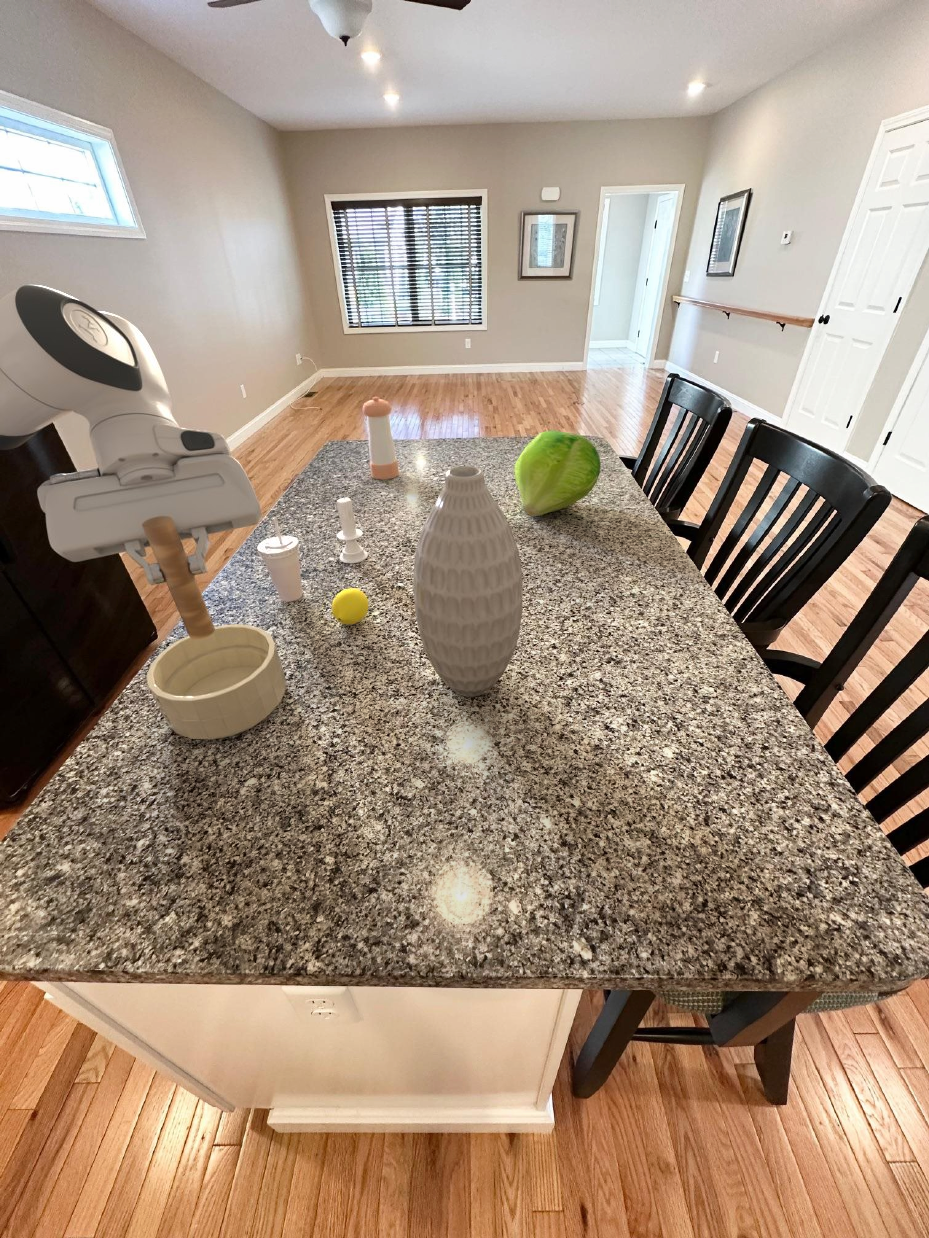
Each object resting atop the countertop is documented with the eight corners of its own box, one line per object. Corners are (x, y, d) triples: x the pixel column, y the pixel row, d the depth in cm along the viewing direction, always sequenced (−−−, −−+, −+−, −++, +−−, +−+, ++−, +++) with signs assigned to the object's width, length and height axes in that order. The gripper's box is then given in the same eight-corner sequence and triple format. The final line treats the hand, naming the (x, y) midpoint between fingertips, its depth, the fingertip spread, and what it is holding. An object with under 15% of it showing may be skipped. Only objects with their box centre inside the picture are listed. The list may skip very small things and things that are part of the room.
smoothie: (313, 600, 85) (294, 522, 77) (273, 609, 83) (250, 530, 75) (308, 582, 90) (290, 507, 82) (270, 590, 88) (248, 514, 80)
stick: (191, 642, 58) (142, 529, 50) (187, 630, 60) (140, 520, 52) (216, 634, 59) (173, 522, 51) (212, 622, 61) (170, 513, 53)
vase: (495, 728, 61) (496, 503, 45) (404, 697, 66) (375, 483, 50) (533, 665, 70) (545, 460, 54) (451, 642, 75) (439, 447, 59)
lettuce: (488, 503, 116) (502, 465, 100) (536, 442, 121) (557, 396, 105) (549, 547, 116) (573, 516, 100) (594, 483, 121) (625, 444, 105)
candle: (373, 554, 98) (365, 494, 91) (354, 566, 94) (343, 504, 88) (353, 548, 101) (343, 489, 94) (333, 559, 97) (321, 499, 90)
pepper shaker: (366, 478, 133) (355, 400, 122) (377, 469, 139) (367, 393, 128) (393, 480, 131) (384, 400, 120) (402, 470, 137) (394, 394, 126)
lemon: (348, 606, 83) (342, 577, 80) (378, 611, 82) (373, 582, 79) (326, 631, 78) (319, 601, 75) (357, 636, 77) (352, 606, 74)
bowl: (176, 762, 58) (152, 719, 54) (162, 689, 68) (142, 648, 64) (301, 712, 64) (288, 669, 60) (271, 652, 74) (259, 612, 70)
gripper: (17, 463, 50) (51, 595, 48) (237, 431, 57) (273, 545, 56) (47, 492, 56) (79, 610, 54) (243, 460, 63) (276, 564, 61)
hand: (179, 577), depth 55 cm, fingers closed on stick, 3 cm apart
